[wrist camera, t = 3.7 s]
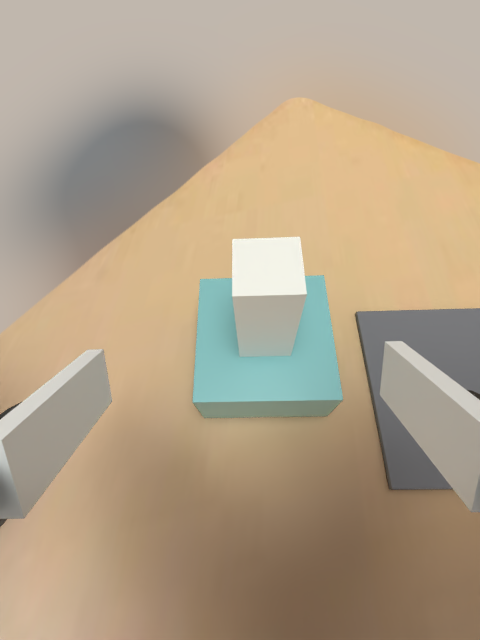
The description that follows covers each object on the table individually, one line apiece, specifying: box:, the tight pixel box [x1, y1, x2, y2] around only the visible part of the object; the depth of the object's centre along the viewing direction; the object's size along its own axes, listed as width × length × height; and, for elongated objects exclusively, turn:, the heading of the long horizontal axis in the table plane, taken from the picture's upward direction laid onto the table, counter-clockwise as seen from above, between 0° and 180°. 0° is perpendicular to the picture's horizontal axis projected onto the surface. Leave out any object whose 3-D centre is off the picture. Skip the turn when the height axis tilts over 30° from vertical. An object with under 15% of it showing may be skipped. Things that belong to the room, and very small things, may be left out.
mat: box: [355, 308, 480, 489], centre depth 29 cm, size 16×16×1 cm
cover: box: [193, 237, 343, 418], centre depth 25 cm, size 11×11×15 cm
